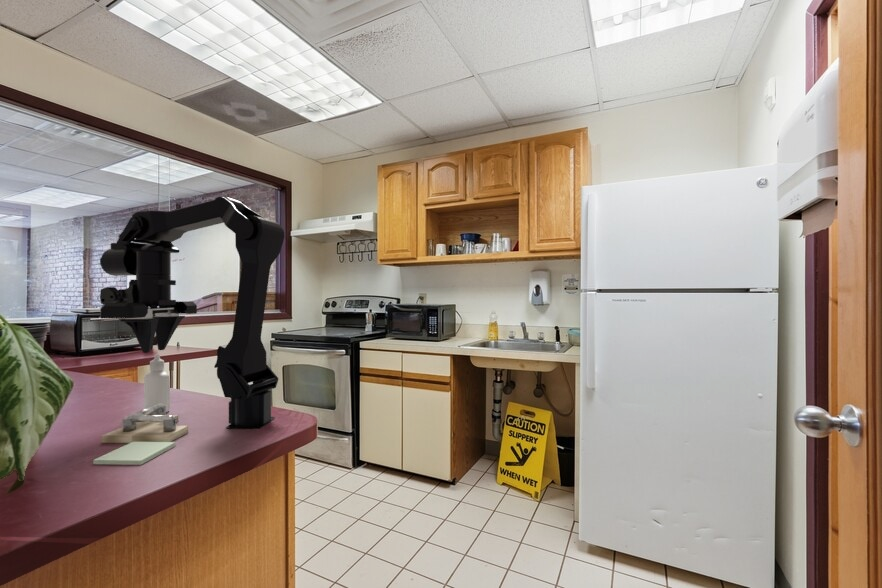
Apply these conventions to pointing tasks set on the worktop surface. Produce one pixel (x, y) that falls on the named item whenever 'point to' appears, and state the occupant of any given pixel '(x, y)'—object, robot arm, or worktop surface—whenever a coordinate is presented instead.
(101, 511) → the worktop surface
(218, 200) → the robot arm
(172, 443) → the pad
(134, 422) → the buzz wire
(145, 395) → the eye dropper bottle
